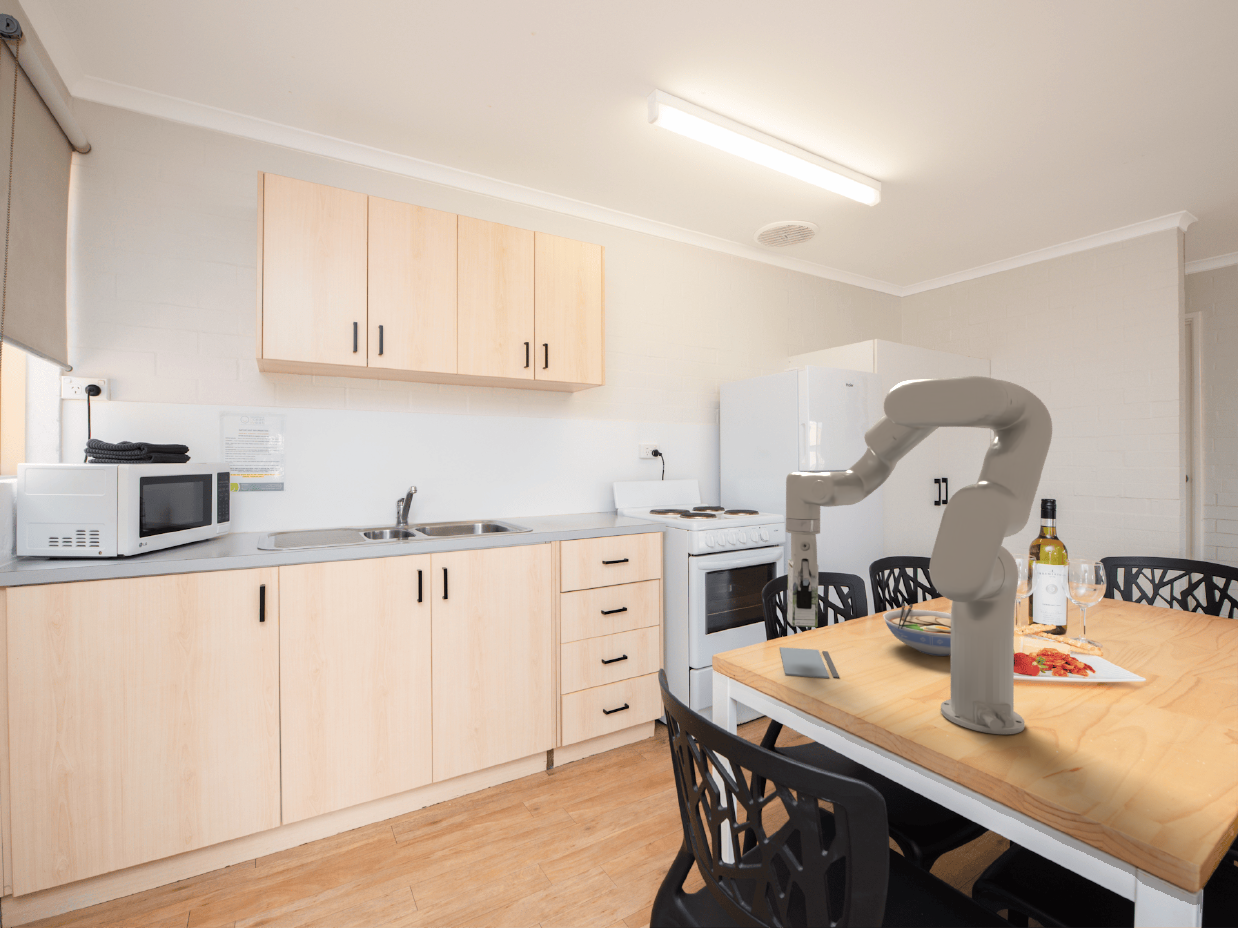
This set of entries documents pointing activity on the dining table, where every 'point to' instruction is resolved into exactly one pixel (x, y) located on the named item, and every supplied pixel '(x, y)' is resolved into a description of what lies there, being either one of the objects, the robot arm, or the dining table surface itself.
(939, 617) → the ramen bowl
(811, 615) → the syrup box
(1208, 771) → the dining table surface
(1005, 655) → the robot arm
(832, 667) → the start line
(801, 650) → the mat
